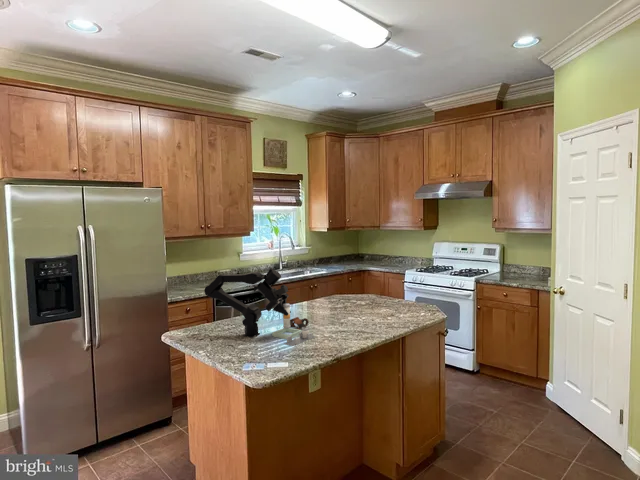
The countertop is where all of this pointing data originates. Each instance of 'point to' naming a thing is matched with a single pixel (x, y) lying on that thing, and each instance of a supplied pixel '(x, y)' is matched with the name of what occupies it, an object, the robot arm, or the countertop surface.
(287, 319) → the banded fuse
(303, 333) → the cylinder
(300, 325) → the pottery mug
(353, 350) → the countertop surface
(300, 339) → the block
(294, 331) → the tray
